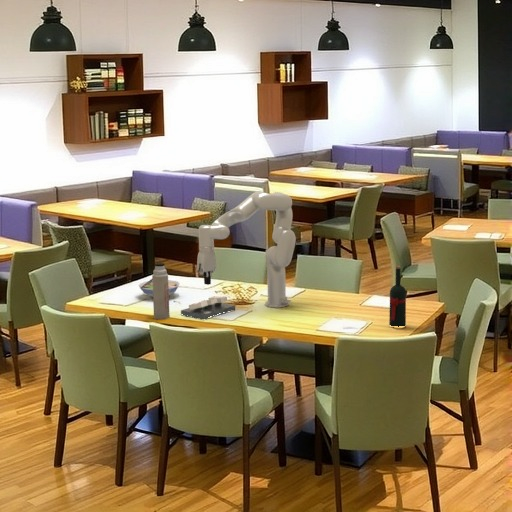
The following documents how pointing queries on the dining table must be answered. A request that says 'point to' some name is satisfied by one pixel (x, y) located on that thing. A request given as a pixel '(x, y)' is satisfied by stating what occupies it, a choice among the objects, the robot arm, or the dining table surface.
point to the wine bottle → (397, 303)
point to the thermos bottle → (160, 292)
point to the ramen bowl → (148, 287)
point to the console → (208, 310)
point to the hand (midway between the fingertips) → (207, 284)
